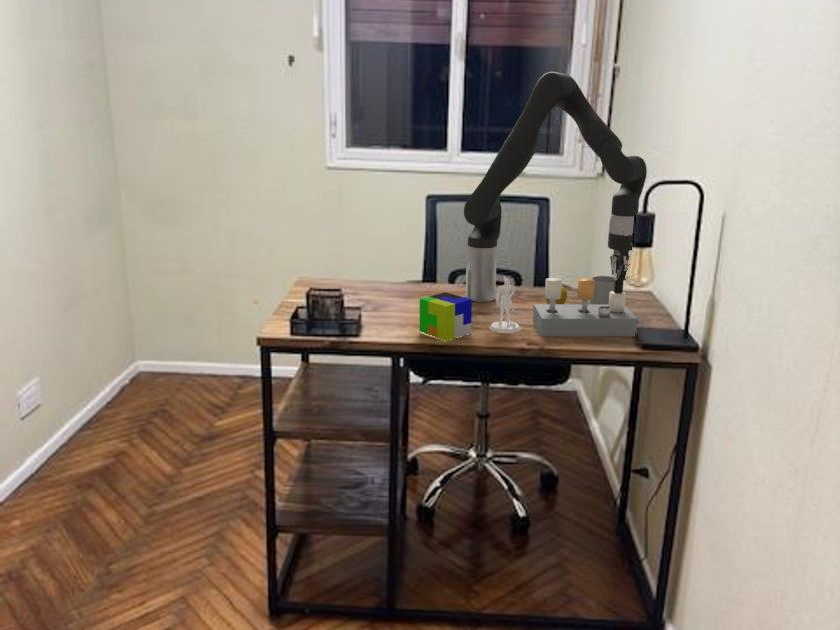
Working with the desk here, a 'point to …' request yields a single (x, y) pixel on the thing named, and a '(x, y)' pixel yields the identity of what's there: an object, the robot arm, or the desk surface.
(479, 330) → the desk surface
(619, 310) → the knob right
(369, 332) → the desk surface
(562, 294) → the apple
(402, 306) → the desk surface
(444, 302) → the puzzle toy
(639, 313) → the desk surface
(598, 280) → the cup
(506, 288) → the figurine
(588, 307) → the panel
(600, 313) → the dial
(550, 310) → the knob left
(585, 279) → the knob middle
